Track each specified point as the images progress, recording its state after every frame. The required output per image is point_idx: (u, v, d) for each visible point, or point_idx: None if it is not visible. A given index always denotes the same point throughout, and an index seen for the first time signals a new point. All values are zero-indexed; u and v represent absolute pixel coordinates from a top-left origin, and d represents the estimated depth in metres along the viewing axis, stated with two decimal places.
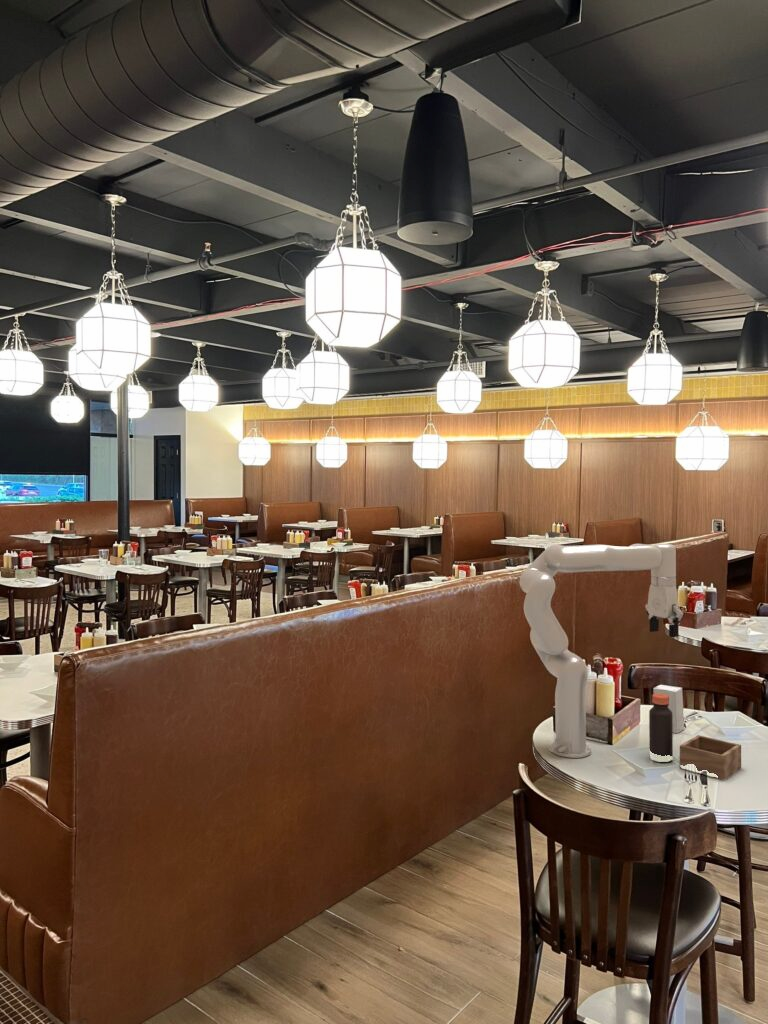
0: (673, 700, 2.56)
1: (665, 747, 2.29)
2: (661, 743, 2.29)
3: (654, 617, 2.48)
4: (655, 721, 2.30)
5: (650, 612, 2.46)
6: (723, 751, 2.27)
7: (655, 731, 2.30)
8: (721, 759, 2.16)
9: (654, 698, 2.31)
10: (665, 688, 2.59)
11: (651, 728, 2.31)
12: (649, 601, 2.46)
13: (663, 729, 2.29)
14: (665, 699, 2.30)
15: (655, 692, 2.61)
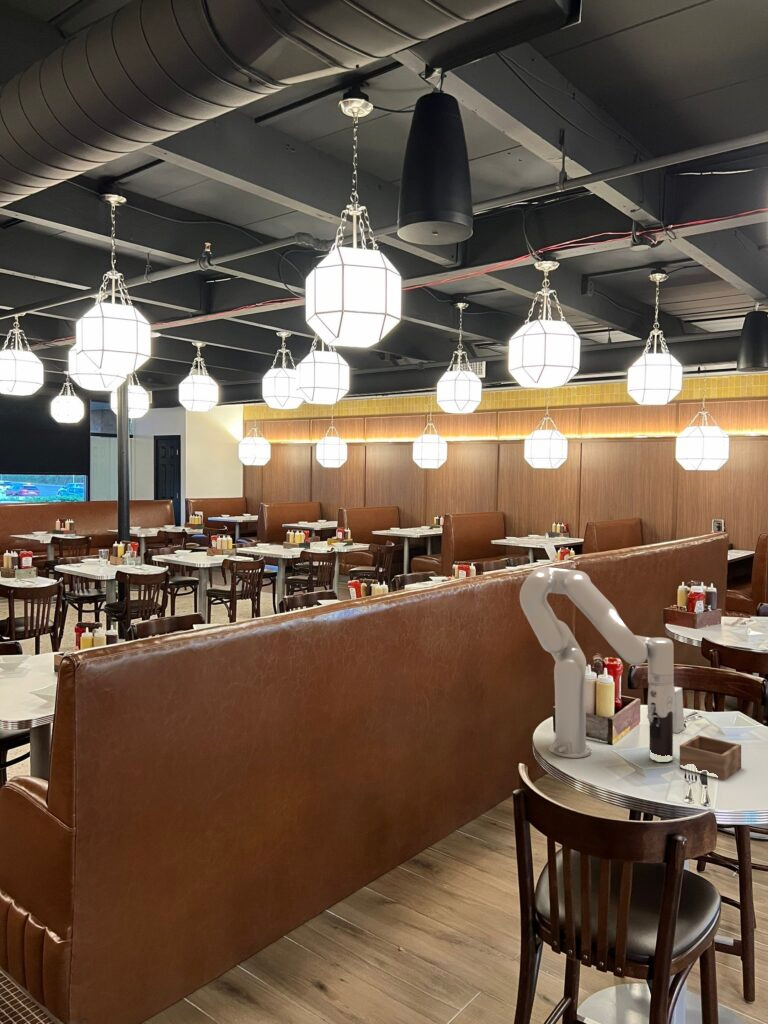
0: None
1: (665, 747, 2.29)
2: (661, 743, 2.29)
3: None
4: None
5: (665, 715, 2.28)
6: (723, 751, 2.27)
7: None
8: (721, 759, 2.16)
9: None
10: None
11: None
12: (664, 704, 2.28)
13: (663, 728, 2.29)
14: None
15: None
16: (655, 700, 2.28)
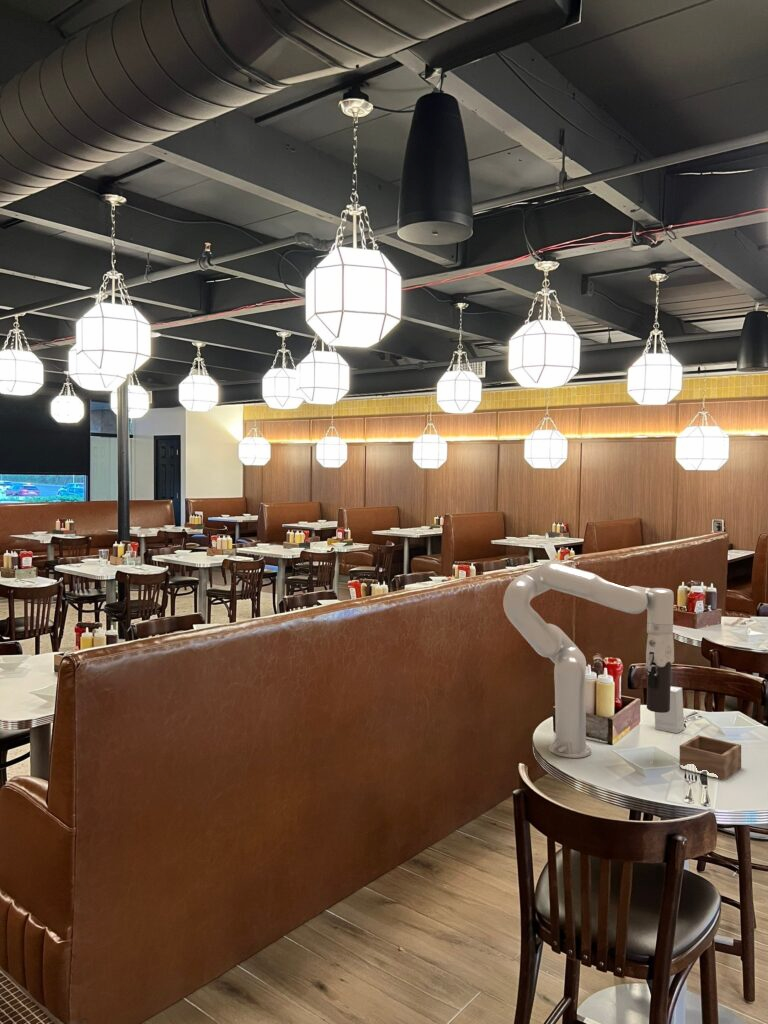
0: (673, 700, 2.56)
1: (662, 697, 2.29)
2: (658, 692, 2.29)
3: None
4: None
5: (663, 664, 2.28)
6: (723, 751, 2.27)
7: None
8: (721, 759, 2.16)
9: None
10: None
11: None
12: (662, 653, 2.27)
13: (661, 678, 2.29)
14: None
15: None
16: (654, 649, 2.27)
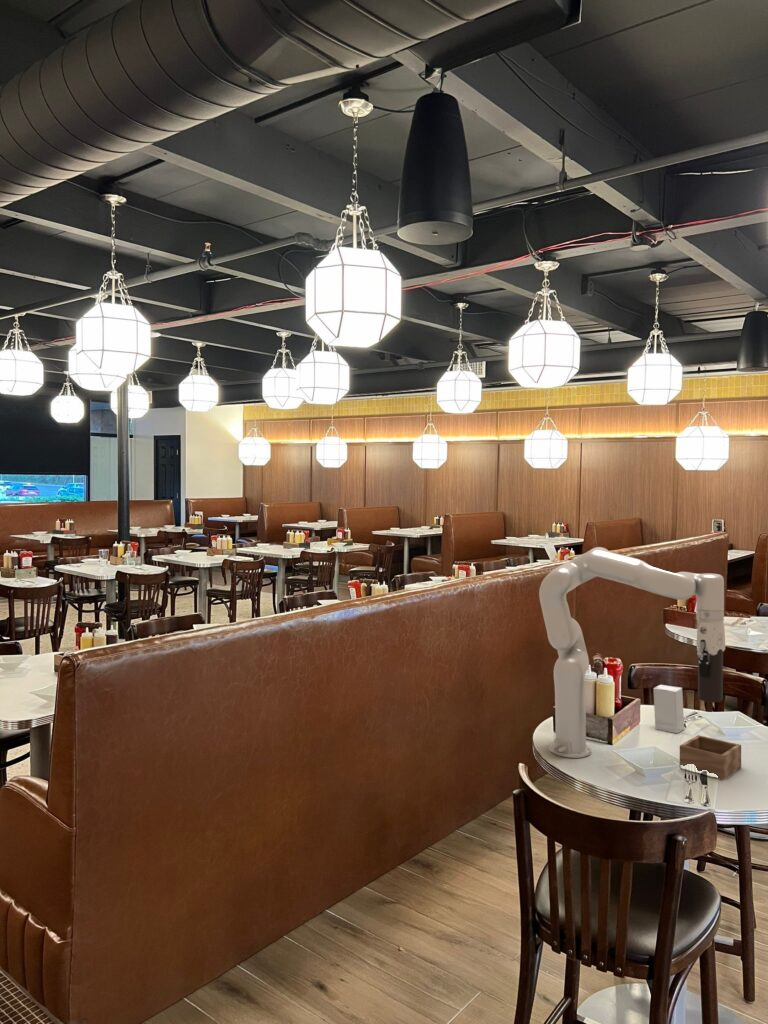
0: (673, 700, 2.56)
1: (715, 686, 2.20)
2: (711, 681, 2.21)
3: None
4: None
5: (715, 652, 2.19)
6: (723, 751, 2.27)
7: None
8: (721, 759, 2.16)
9: None
10: (665, 688, 2.59)
11: None
12: (714, 640, 2.19)
13: (713, 666, 2.20)
14: None
15: (655, 692, 2.61)
16: (705, 637, 2.19)
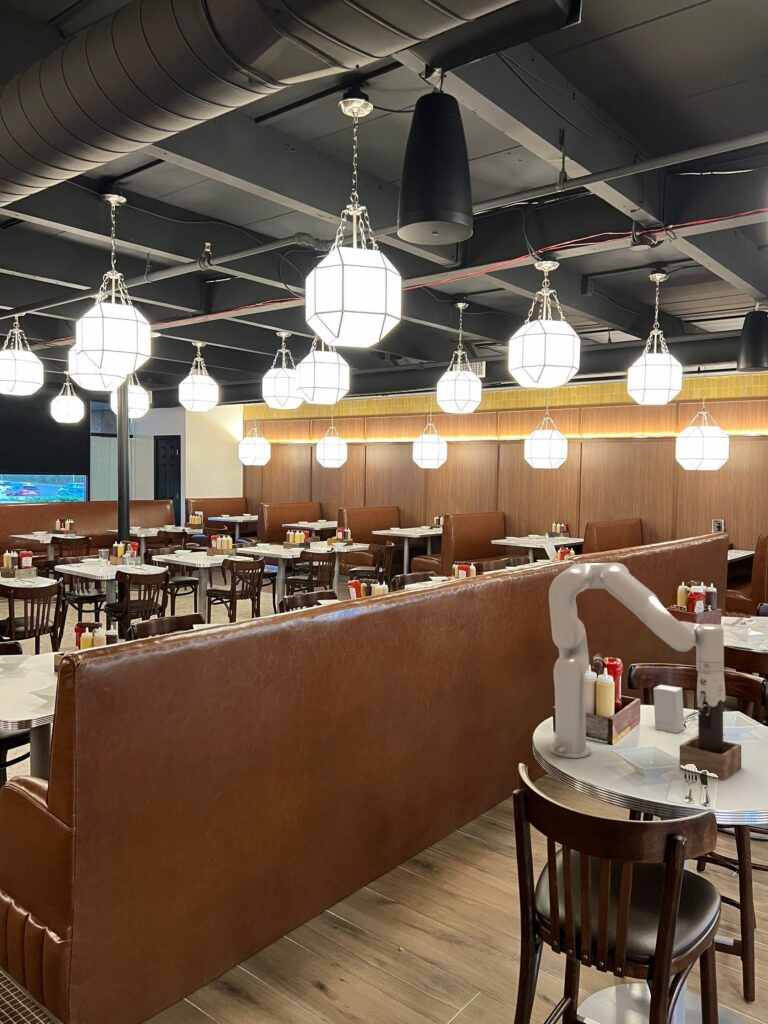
0: (673, 700, 2.56)
1: (715, 737, 2.21)
2: (711, 732, 2.21)
3: None
4: None
5: (715, 704, 2.20)
6: (723, 751, 2.27)
7: None
8: (721, 759, 2.16)
9: None
10: (665, 688, 2.59)
11: None
12: (714, 692, 2.19)
13: (713, 718, 2.21)
14: None
15: (655, 692, 2.61)
16: (705, 688, 2.20)
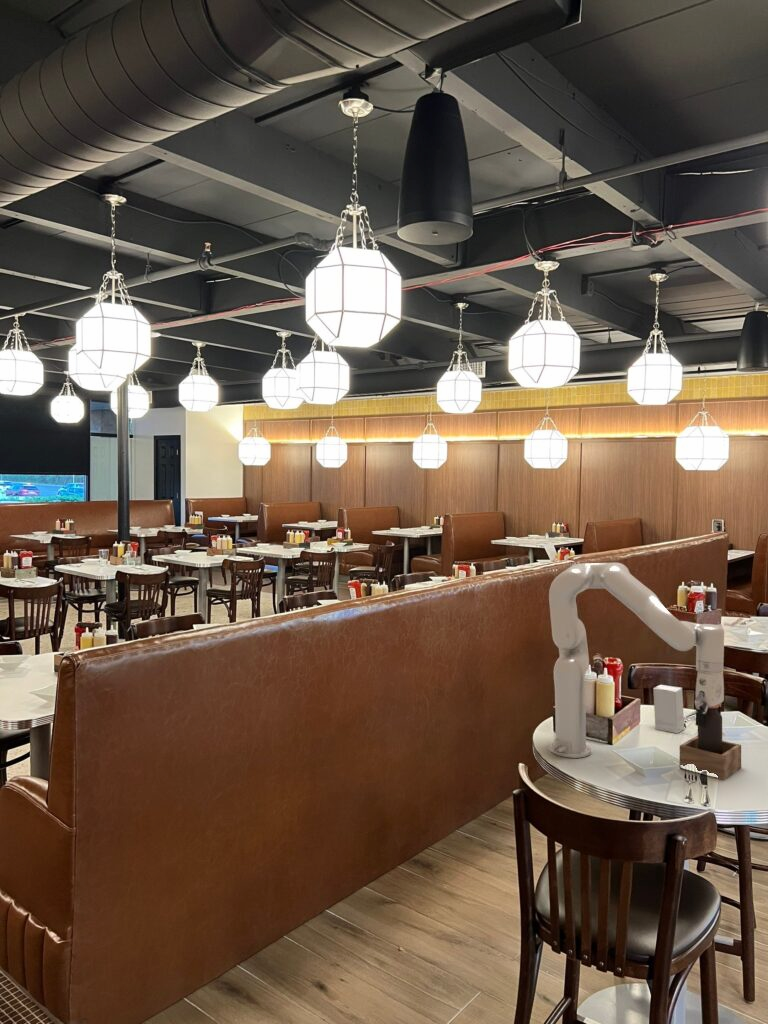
0: (673, 700, 2.56)
1: (715, 752, 2.21)
2: (711, 748, 2.21)
3: None
4: None
5: (714, 704, 2.20)
6: (723, 751, 2.27)
7: (704, 735, 2.22)
8: (721, 759, 2.16)
9: None
10: (665, 688, 2.59)
11: (700, 732, 2.24)
12: (713, 692, 2.20)
13: (713, 733, 2.21)
14: None
15: (655, 692, 2.61)
16: (704, 688, 2.20)
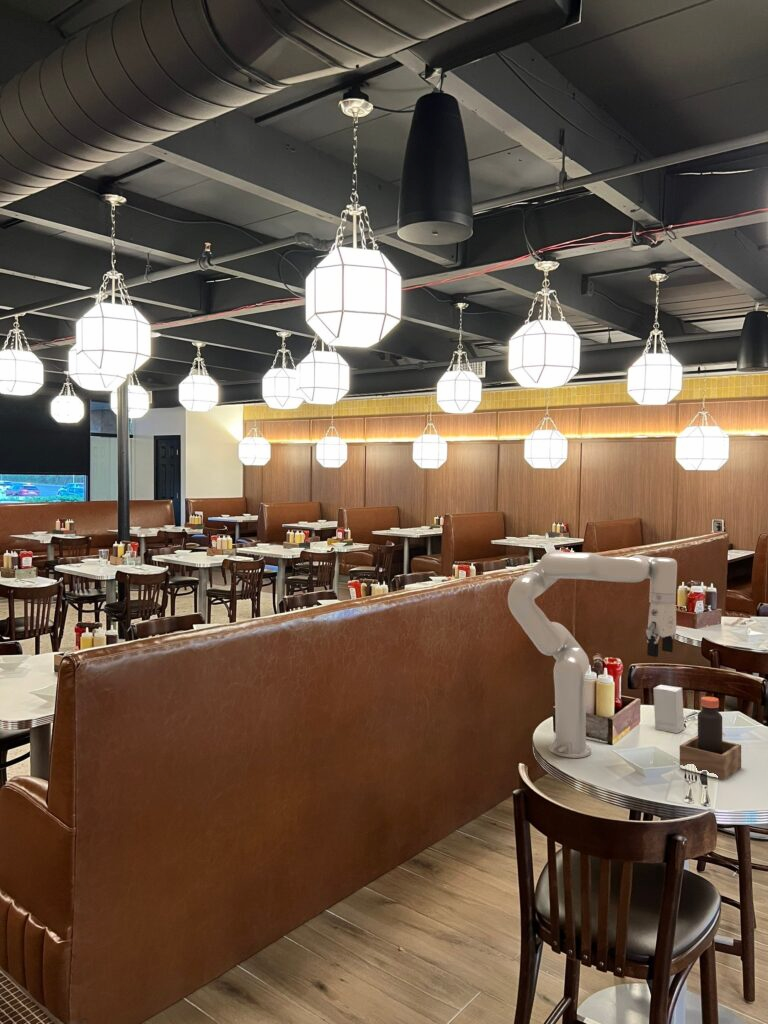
0: (673, 700, 2.56)
1: (715, 752, 2.21)
2: (711, 747, 2.21)
3: None
4: (705, 725, 2.22)
5: (665, 634, 2.24)
6: (723, 751, 2.27)
7: (704, 735, 2.22)
8: (721, 759, 2.16)
9: (703, 701, 2.23)
10: (665, 688, 2.59)
11: (700, 732, 2.24)
12: (664, 623, 2.24)
13: (713, 733, 2.21)
14: (715, 702, 2.22)
15: (655, 692, 2.61)
16: (656, 619, 2.24)
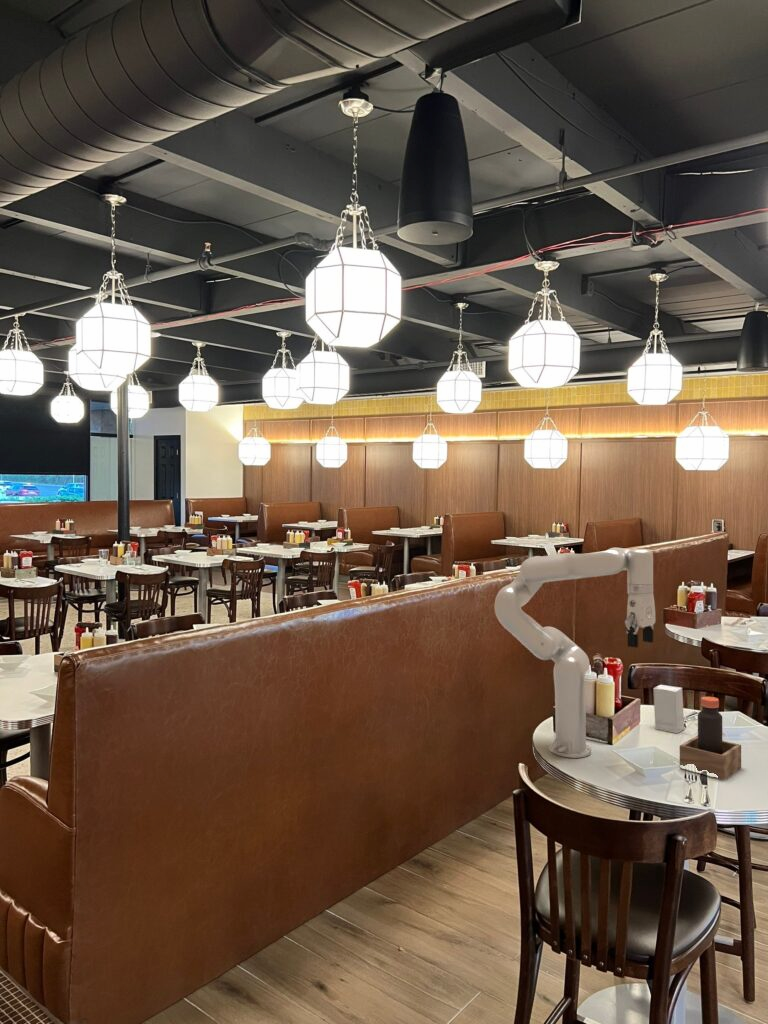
0: (673, 700, 2.56)
1: (715, 752, 2.21)
2: (711, 747, 2.21)
3: None
4: (705, 725, 2.22)
5: (644, 624, 2.26)
6: (723, 751, 2.27)
7: (704, 735, 2.22)
8: (721, 759, 2.16)
9: (703, 701, 2.23)
10: (665, 688, 2.59)
11: (700, 732, 2.24)
12: (643, 613, 2.26)
13: (713, 733, 2.21)
14: (715, 702, 2.22)
15: (655, 692, 2.61)
16: (634, 610, 2.26)
